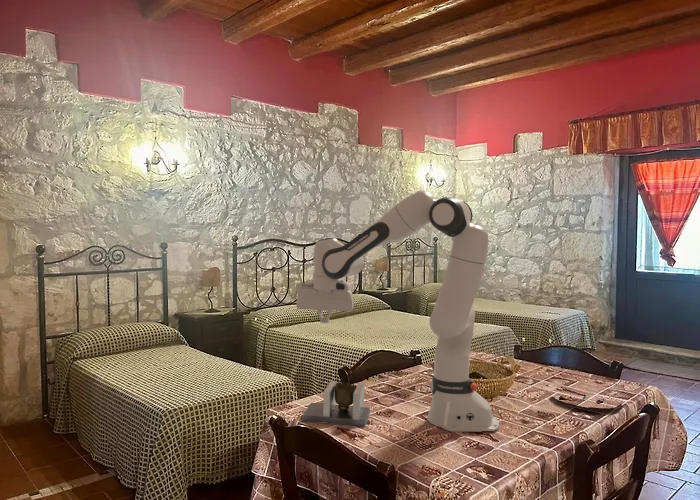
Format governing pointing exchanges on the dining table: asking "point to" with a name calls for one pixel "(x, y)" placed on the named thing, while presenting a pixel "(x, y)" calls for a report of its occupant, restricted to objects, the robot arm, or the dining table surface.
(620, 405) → the dining table surface
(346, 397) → the cup
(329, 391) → the sliding jaw
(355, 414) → the vise
